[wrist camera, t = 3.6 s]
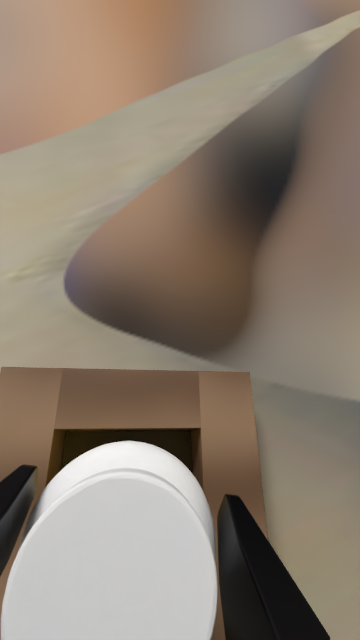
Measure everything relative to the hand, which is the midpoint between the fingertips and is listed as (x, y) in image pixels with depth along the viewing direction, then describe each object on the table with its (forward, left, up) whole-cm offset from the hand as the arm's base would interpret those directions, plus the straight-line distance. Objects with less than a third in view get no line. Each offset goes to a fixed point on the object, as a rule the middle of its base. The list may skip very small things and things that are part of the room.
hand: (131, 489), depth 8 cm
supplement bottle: (-1, 0, -7) cm, 7 cm away
